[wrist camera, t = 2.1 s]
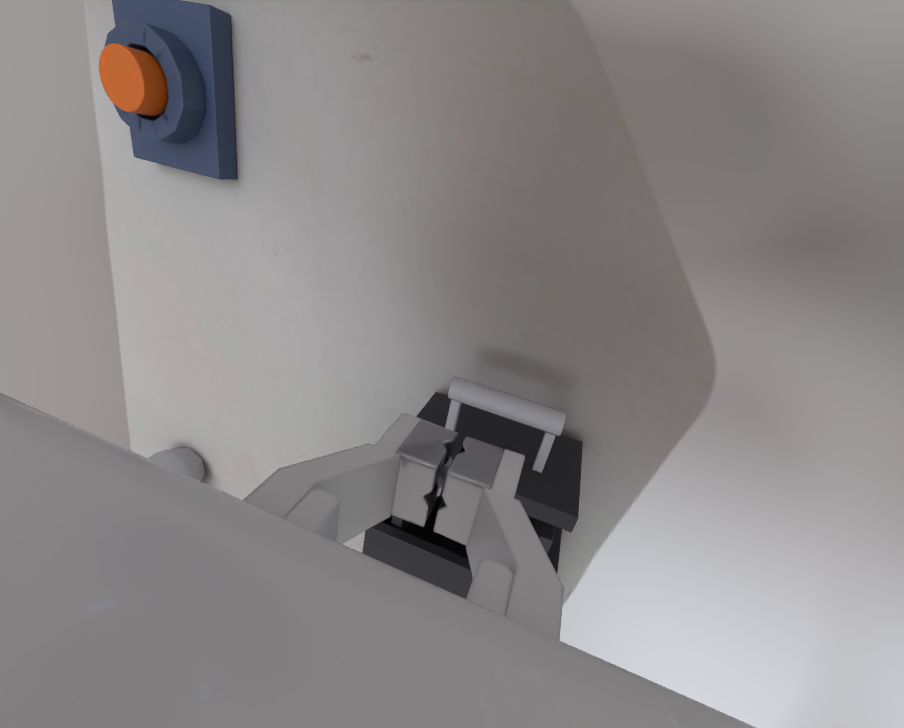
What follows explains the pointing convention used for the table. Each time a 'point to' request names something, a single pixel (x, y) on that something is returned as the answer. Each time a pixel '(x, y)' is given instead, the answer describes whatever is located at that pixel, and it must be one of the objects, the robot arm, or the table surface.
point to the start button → (133, 80)
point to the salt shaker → (181, 462)
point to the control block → (183, 84)
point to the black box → (429, 557)
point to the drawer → (519, 430)
